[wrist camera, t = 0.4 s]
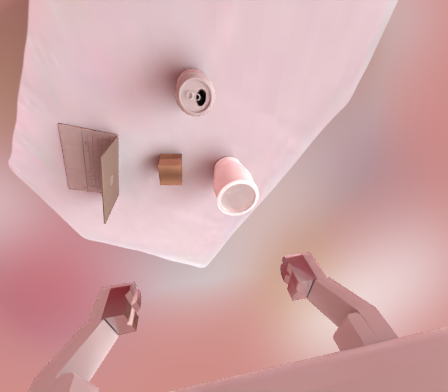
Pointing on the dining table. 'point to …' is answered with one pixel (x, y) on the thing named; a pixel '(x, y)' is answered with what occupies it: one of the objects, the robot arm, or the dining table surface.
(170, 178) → the walnut block
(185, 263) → the dining table surface
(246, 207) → the jar
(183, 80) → the can
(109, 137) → the laptop
